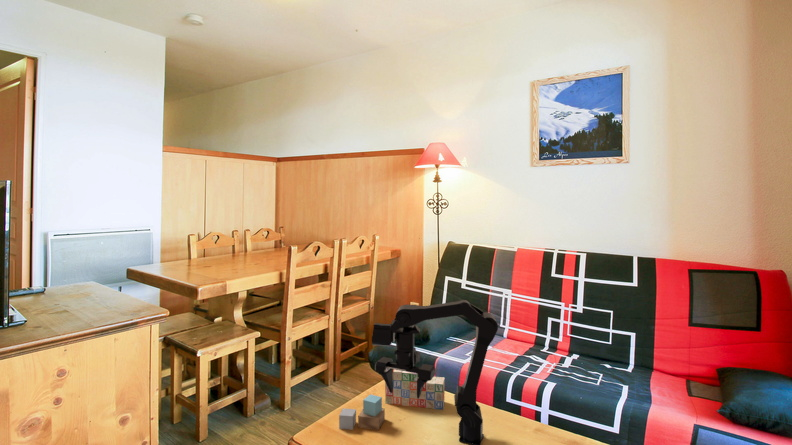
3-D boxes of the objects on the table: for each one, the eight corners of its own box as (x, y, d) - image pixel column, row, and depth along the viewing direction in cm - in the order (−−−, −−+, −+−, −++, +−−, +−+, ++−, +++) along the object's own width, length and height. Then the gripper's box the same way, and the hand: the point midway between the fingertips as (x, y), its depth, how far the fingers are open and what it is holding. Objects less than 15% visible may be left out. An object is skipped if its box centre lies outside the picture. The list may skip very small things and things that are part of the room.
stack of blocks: (444, 402, 147) (445, 369, 147) (443, 410, 141) (443, 376, 141) (388, 395, 152) (388, 364, 151) (384, 403, 146) (384, 370, 145)
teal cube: (381, 410, 133) (381, 397, 133) (375, 416, 129) (375, 403, 129) (370, 407, 135) (370, 394, 135) (363, 413, 131) (363, 400, 131)
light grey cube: (356, 422, 132) (356, 409, 132) (352, 430, 128) (352, 416, 128) (342, 421, 133) (342, 408, 133) (339, 428, 129) (339, 415, 129)
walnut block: (384, 419, 135) (384, 408, 135) (378, 431, 128) (378, 418, 128) (365, 417, 136) (365, 405, 136) (358, 428, 130) (358, 415, 129)
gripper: (441, 342, 129) (440, 390, 129) (388, 334, 136) (388, 379, 136) (430, 353, 118) (429, 405, 119) (374, 345, 126) (373, 393, 126)
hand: (404, 395), depth 125 cm, fingers open, 9 cm apart
